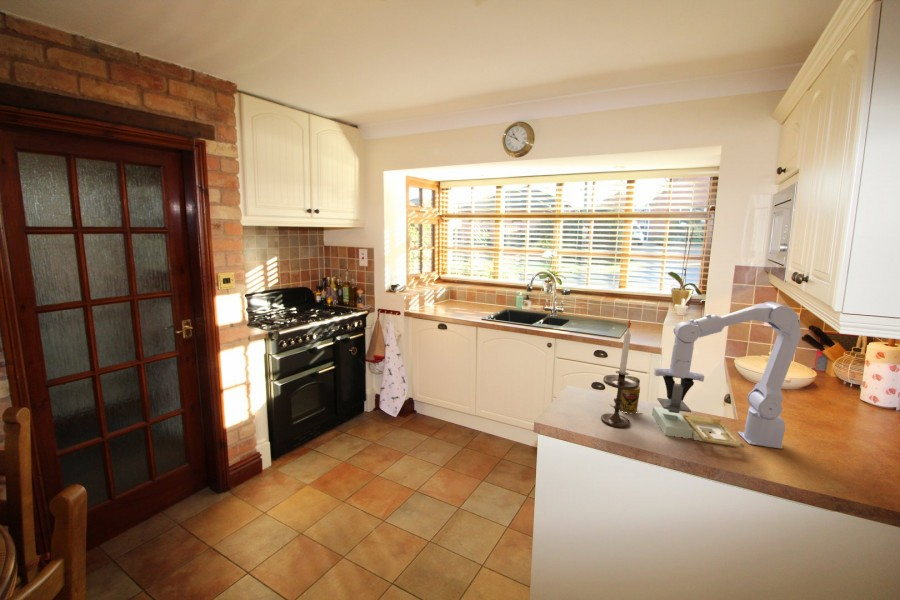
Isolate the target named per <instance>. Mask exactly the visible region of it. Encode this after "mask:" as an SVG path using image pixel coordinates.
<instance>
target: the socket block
mask: <svg viewBox="0 0 900 600" xmlns="http://www.w3.org/2000/svg"><path fill="white" fill-rule="evenodd" d="M686 422H687V421H686ZM687 423H688V422H687ZM693 424H694V425H695V426H696V427H697V428H698V430H699V431H700V432H701V433H702V434H703V436H704V437H705V438H707V439H709V438H708V437H707V436H706V435H705V433H704V432H702V431H704V430H706V431H708V432H711V433H710V435H711V436H712V437H713V438H714V439H715V440H721V441H726V439H725V438H724V437H723V436H722V435H721V433H725V434H726V435H727V436H728V437H729V438H730V439H731V440H732V441H733V442H734V443H735V441H734V440H733V439H732V438H731V436H730V435H729V434H728V433H727V432H726V431H725V430H724V429H723V428H722V427H721V426H720V425H712V424H705V423H698V422H693ZM688 425H689V426H690V424H689V423H688ZM690 427H691V426H690ZM691 428H692V427H691ZM692 430H693V432H692V437H693V438H694V439H693V438H692V439H693V441H697V440H699V441H698V442H703V441H702V439H701V438H700V437H699V436H698V434H697V433H696V432H695V431H694V429H693V428H692Z"/></svg>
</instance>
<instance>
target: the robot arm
mask: <svg viewBox="0 0 900 600" xmlns="http://www.w3.org/2000/svg"><path fill="white" fill-rule="evenodd" d="M799 318H800V316H799V314H798V313H797V312H796V311H795V310H794V309H793V308H792V307H791V306H788V305H782V304H780V303H778V302H775V301H766V302H764V303H762V302H761V303H757V304H753V305H751V306H748V307H744V308H742V309H739V310H737V311H734V312H731V313H730V312H729V313H727V314H724V315H721V316H719V315H716V314H715V313H714V314H710V313H707V314H705V316H703V317H700V318H697V319H693V318H692V319H689V321H680V322H678V323H677V325H675V326H674V328H673V334H674V336H675V337H674V343H673V346H672V353H671V360H670V366H669V368H654V371H653V374H654V376H655V377H662V378H663V381H664V383H665V388H666V399H671V397H672V390H673V387H674V384H675V383H676V381H675V378H677V379H680V384H681V385H682V386H683V393H682V399H681V401H683V402H684V399H685V397H686V395H687V393H688V392H689V390H690V389H691V388H692V387H693V386H694V383H695V382H694V381H698V382H702V383H703V382H704V381H705V375H704V374H702V373H697V372H691V365H692V359H693V354H694V349H695V346H694V345H695V342H696V341H697V340H698V339H699V338H702V337H706V336H711V335H713V334H718V333H721V332H722V331H723V330H724V328H725V327H728V326H733V325H737V324H741V323H746V322H750V321H758V322H762V323H767V324H768V325H770V326H771V327H772V329H773V330H774V332H775V333H776V335H777V336H776V339H775V342H774V344H773V347H772V350H771V352H770V355H769V357H768V361H767V363H766V365H765V369H764V371H763V374H762V376H761V379H760V381H759V382H758V383H756V384H755V385H754V387H753V388H752V390H751V391H749V393H748V394H747V398H746V400H747V403H748V404H749V407H748V411H747V414H746V415H747V417H746V420H745V426H744V431H737V434H738V435H739V436H741V438H742V439H744V440H745V442H747V444H749V445H754V446H760V447H769V448H775V449H780V450H781V449H783V448H784V447H783V446H782V445H783V441H784V435H785V431H786V423H785V420H784V418H782V417H781V414H782V412H783V406H782V405H783V403H782V402H783V400H784V396H783V392H782V387H783V384H784V382H785V379H786V377H787V374H788V371H789V368H790V366H791V363H792V361H793V358H794V357H795V356H794V355H795V354H796V350H797V349H798V345H799V342H800V341H801V338H802V330H801V326H800V321H799Z"/></svg>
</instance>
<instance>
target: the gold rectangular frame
mask: <svg viewBox="0 0 900 600" xmlns="http://www.w3.org/2000/svg"><path fill="white" fill-rule="evenodd" d="M682 417H683V418H684V420H685V421H687V422H688V423H689V424H690V426H691V427H692V428H693V429H694V431H695V432H696V433H697V434H698V436H699V437H700V438H701V439H702V441H701V442H703V443H704V442H706V443H713V444H719V445H724V446H725V445H726V446H731V447H733V446H734V447H739V448H740V447H741V448H745V444H744V443H743V442H742V441H741V440H740V439H739V438H738V437H737V436H736V435H735V434H734V433H733V432H732V431H731V430H730V429H729V428H728V427H727V426H726V425H725V424H724V423H723V422H722V419H721V418H719V417H718V418H717V417H711V416H703V415H695V414H687V413H683V416H682ZM693 422H697V423H704V424H711V425H719V426H720V427H722V428H723V429H724V430H725V431H726V432H727V433H728V434H729V437H730V438H731V439H732V440H733V441H734V442H733V441H732V440H731V439H730V438H729V437H728V436H727V435H726V434H725V433H721V435H722V436H723V437H724V438H725V439H726V441H721V440H715V439H714V438H713V437H712V436H711V435H710V433H709V432H708V431H706V430H704V431H703V432H704V433H705V435H706V436H707V437H708V438H709V439H707V438H705V437H704V436H703V434H702V433H701V432H700V431H699V430H698V428H697V427H696V426H695V425H694V424H693Z"/></svg>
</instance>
